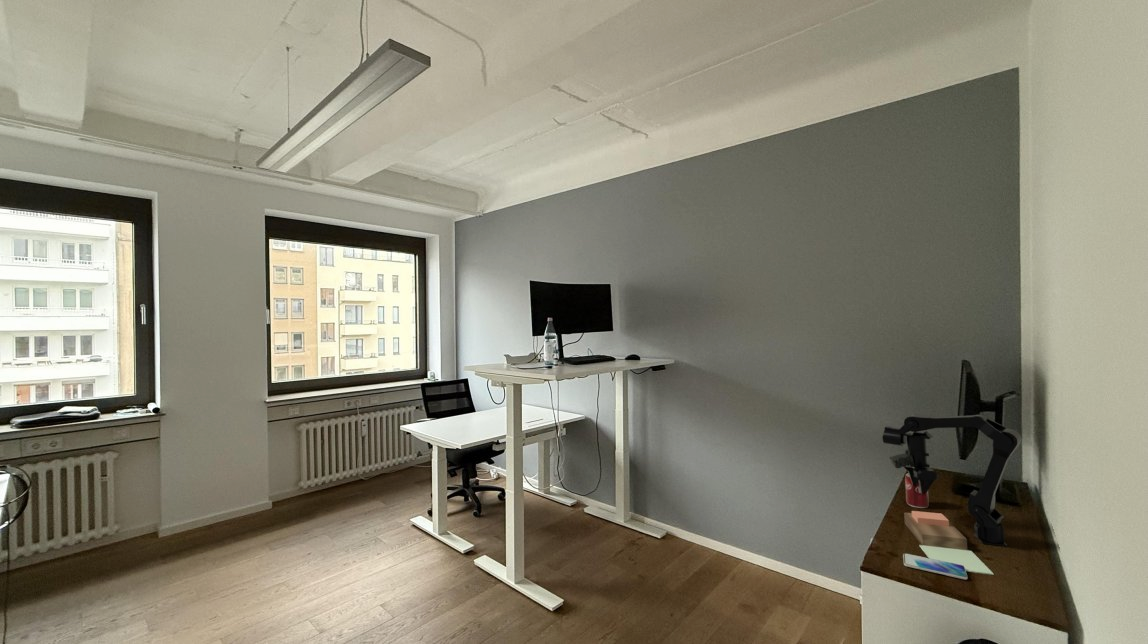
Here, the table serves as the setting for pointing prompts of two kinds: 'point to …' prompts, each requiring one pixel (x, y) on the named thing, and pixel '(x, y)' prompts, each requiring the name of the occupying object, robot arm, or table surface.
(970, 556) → the mat
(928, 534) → the tan flat slab
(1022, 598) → the table surface
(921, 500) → the soda can
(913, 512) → the block
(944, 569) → the smartphone
